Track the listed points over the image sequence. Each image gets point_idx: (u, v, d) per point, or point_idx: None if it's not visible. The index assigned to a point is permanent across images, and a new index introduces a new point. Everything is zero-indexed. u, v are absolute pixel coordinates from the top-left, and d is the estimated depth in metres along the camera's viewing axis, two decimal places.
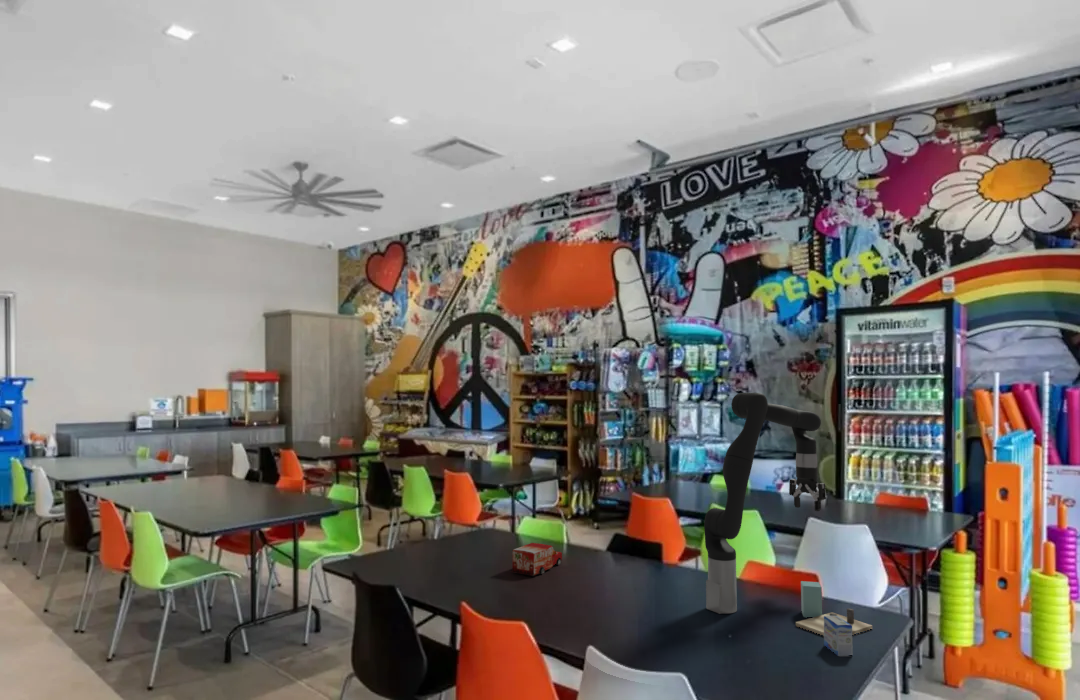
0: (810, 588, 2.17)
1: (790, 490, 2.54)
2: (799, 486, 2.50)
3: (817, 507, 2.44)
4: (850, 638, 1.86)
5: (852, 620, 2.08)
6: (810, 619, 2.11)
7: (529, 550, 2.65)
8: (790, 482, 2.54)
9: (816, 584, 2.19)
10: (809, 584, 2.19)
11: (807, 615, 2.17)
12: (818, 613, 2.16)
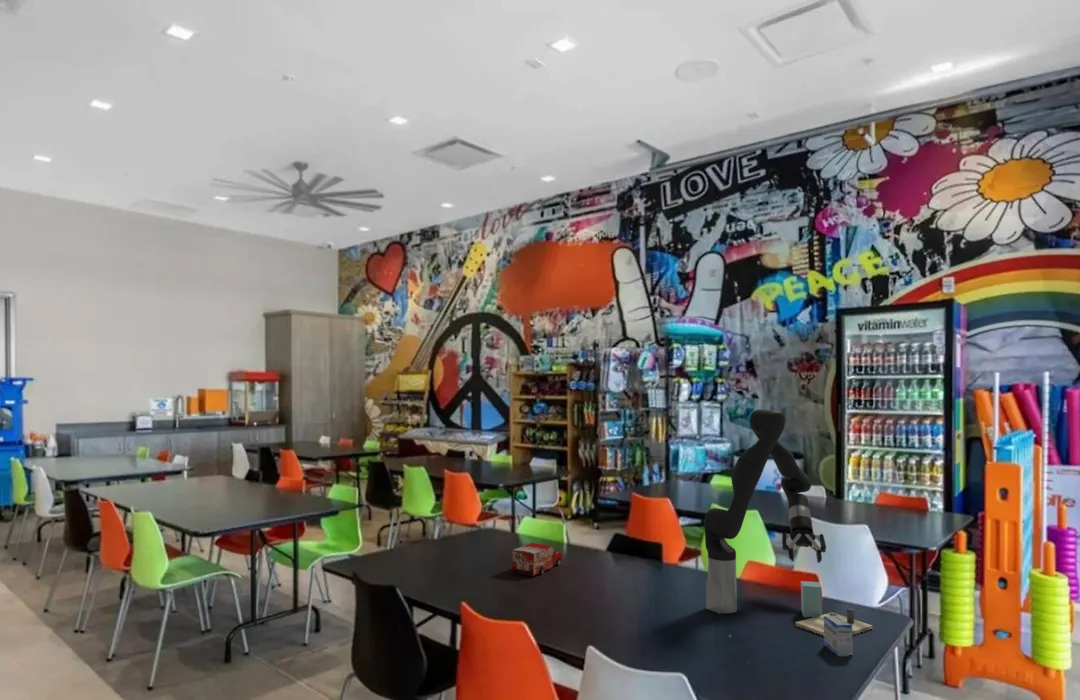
0: (810, 588, 2.17)
1: (784, 542, 2.36)
2: (797, 536, 2.36)
3: (820, 556, 2.30)
4: (850, 638, 1.86)
5: (852, 620, 2.08)
6: (810, 619, 2.11)
7: (529, 550, 2.65)
8: (784, 534, 2.38)
9: (816, 584, 2.19)
10: (809, 584, 2.19)
11: (807, 615, 2.17)
12: (818, 613, 2.16)
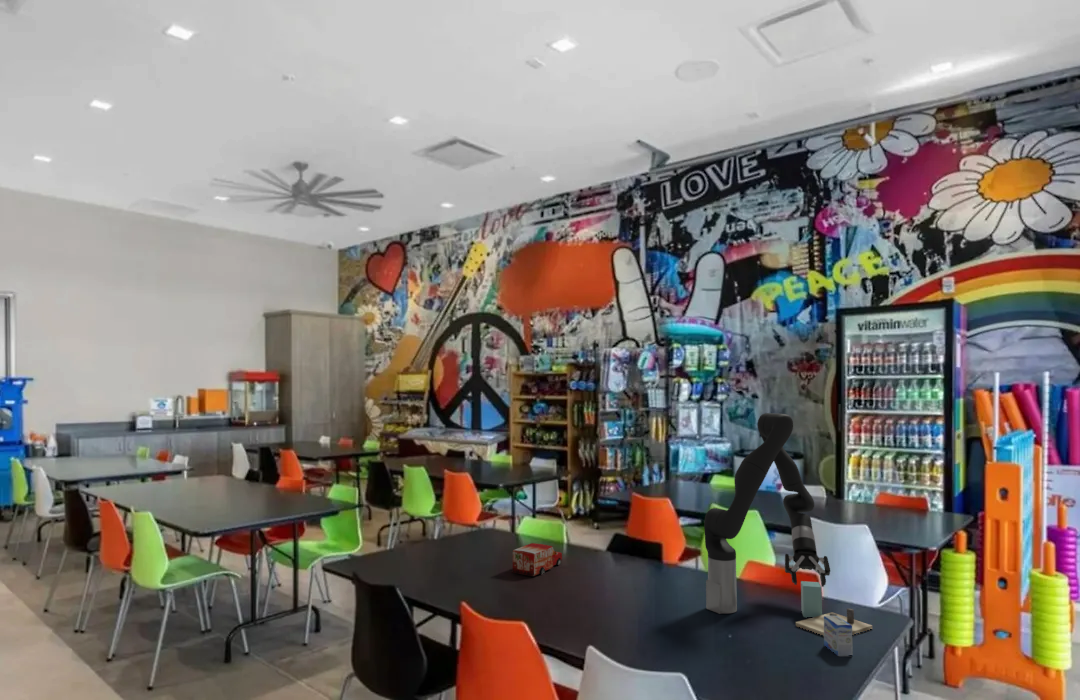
0: (810, 588, 2.17)
1: (787, 564, 2.28)
2: (801, 559, 2.28)
3: (824, 580, 2.22)
4: (850, 638, 1.86)
5: (852, 620, 2.08)
6: (810, 619, 2.11)
7: (529, 550, 2.65)
8: (786, 556, 2.30)
9: (816, 584, 2.19)
10: (809, 584, 2.19)
11: (807, 615, 2.17)
12: (818, 613, 2.16)
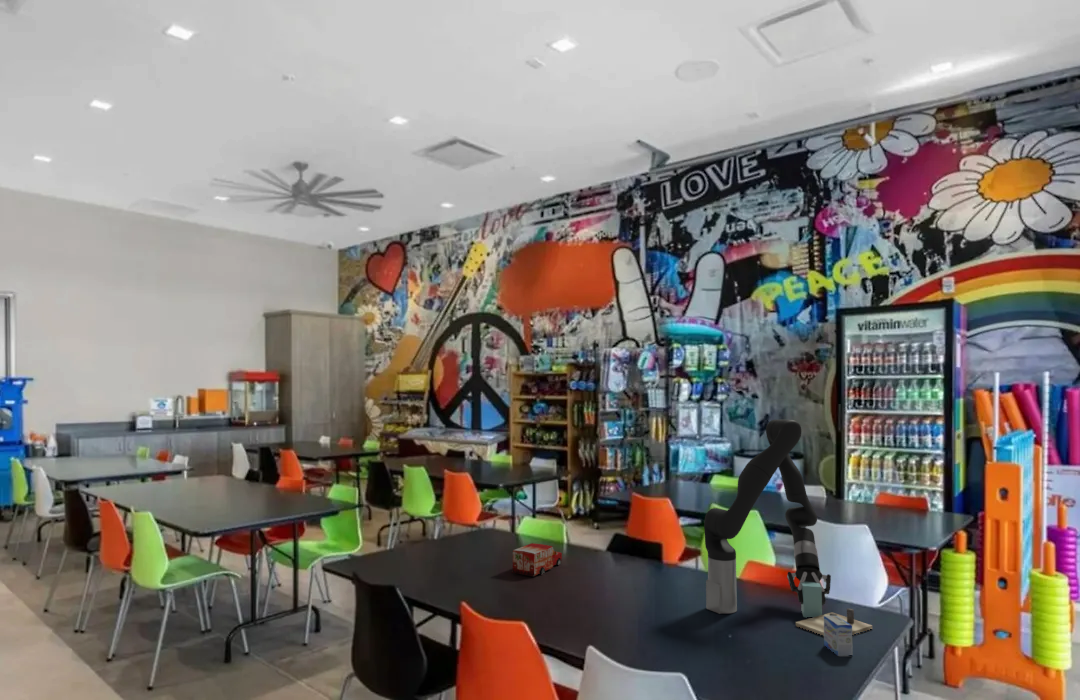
0: (810, 588, 2.17)
1: (792, 583, 2.22)
2: (804, 575, 2.23)
3: (824, 599, 2.17)
4: (850, 638, 1.86)
5: (852, 620, 2.08)
6: (810, 619, 2.11)
7: (529, 550, 2.65)
8: (789, 574, 2.24)
9: (816, 584, 2.19)
10: (809, 584, 2.19)
11: (807, 615, 2.17)
12: (818, 613, 2.16)
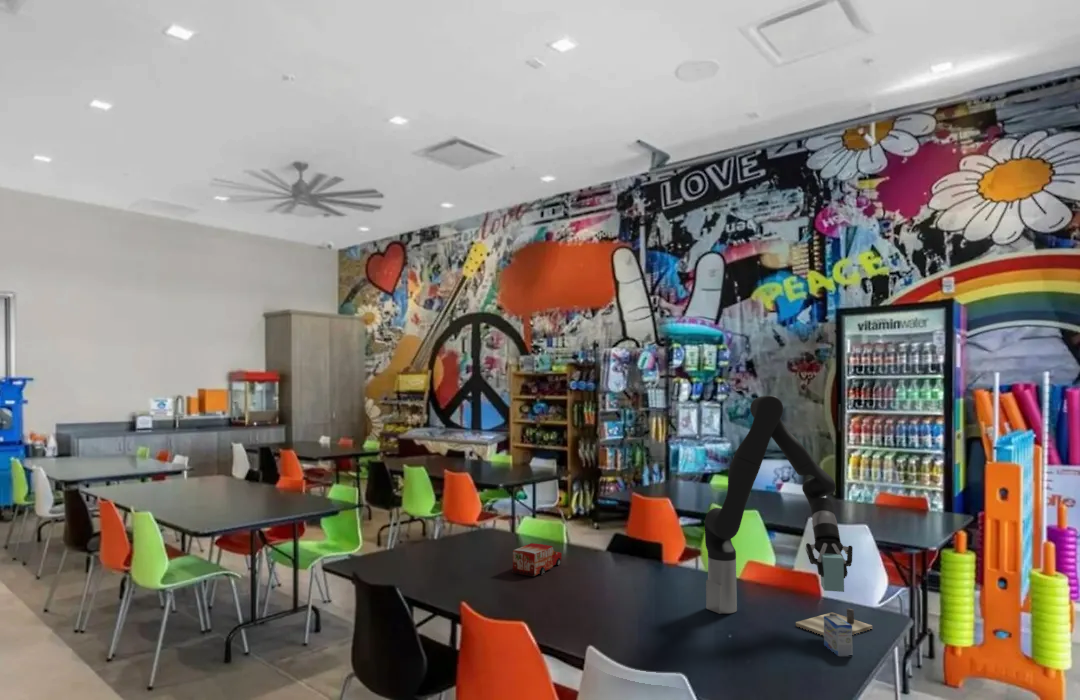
0: (831, 559, 2.03)
1: (811, 555, 2.08)
2: (824, 546, 2.09)
3: (846, 571, 2.03)
4: (850, 638, 1.86)
5: (852, 620, 2.08)
6: (810, 619, 2.11)
7: (529, 550, 2.64)
8: (808, 546, 2.11)
9: (837, 555, 2.05)
10: (830, 555, 2.05)
11: (827, 589, 2.03)
12: (840, 586, 2.02)
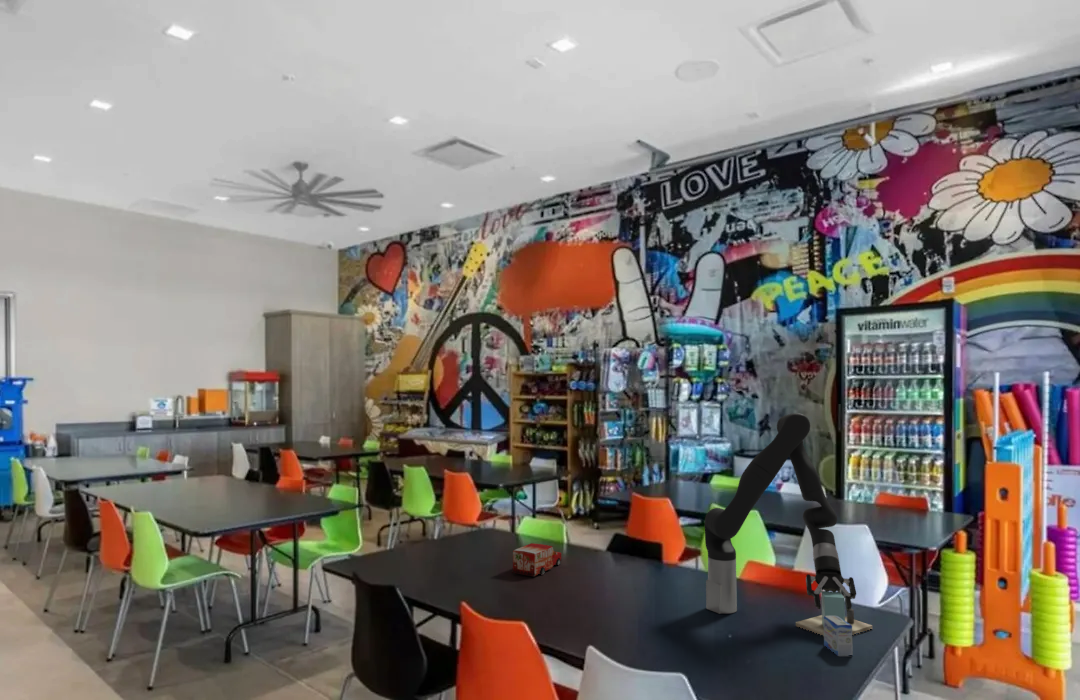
0: (832, 598, 2.02)
1: (809, 586, 2.08)
2: (824, 580, 2.08)
3: (850, 604, 2.02)
4: (850, 638, 1.86)
5: (852, 620, 2.08)
6: (810, 619, 2.11)
7: (530, 551, 2.64)
8: (808, 577, 2.10)
9: (838, 594, 2.04)
10: (831, 594, 2.04)
11: None
12: None
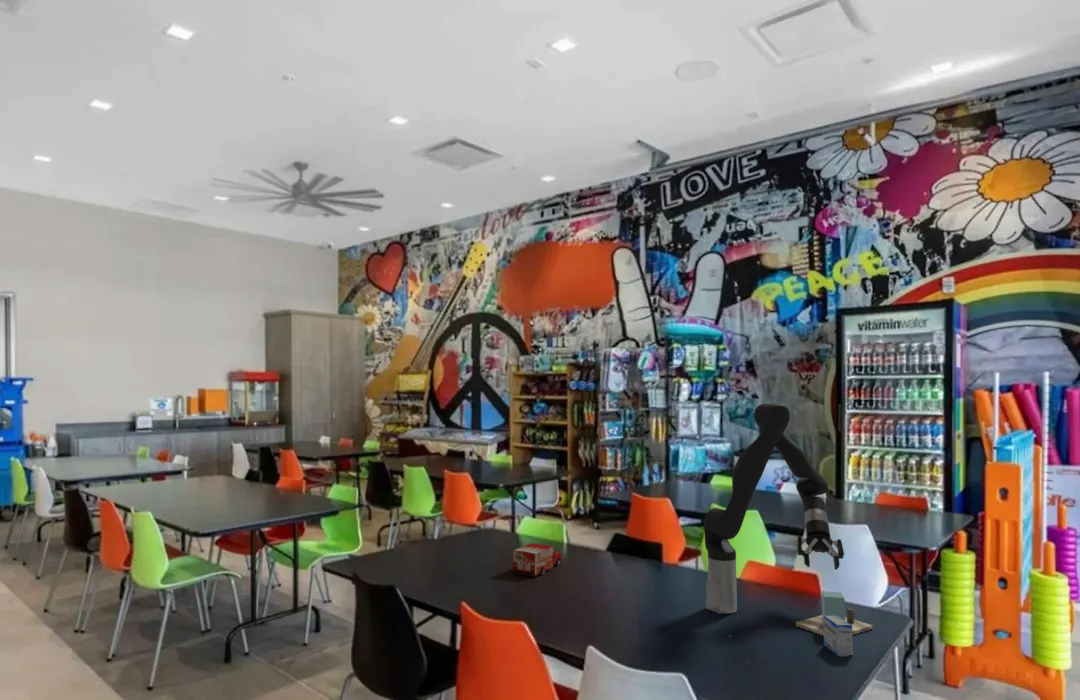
0: (832, 598, 2.02)
1: (799, 546, 2.24)
2: (814, 541, 2.24)
3: (838, 563, 2.18)
4: (850, 638, 1.86)
5: (852, 620, 2.08)
6: (810, 619, 2.11)
7: (530, 551, 2.64)
8: (799, 539, 2.26)
9: (838, 594, 2.04)
10: (831, 594, 2.04)
11: None
12: None
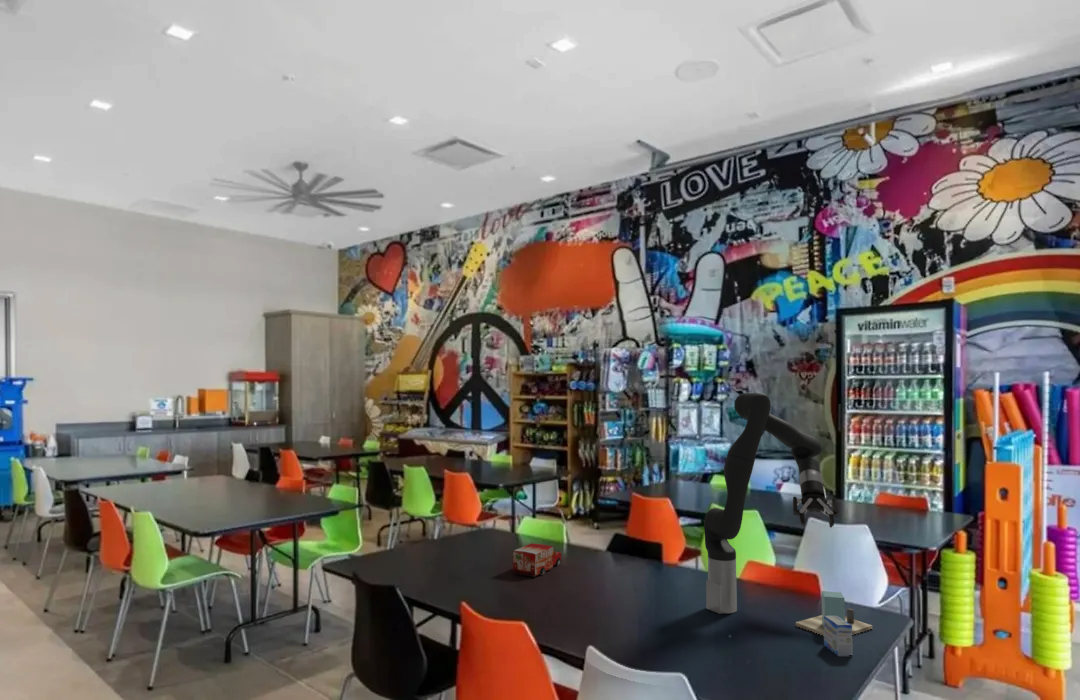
0: (832, 598, 2.02)
1: (795, 506, 2.28)
2: (809, 501, 2.28)
3: (833, 521, 2.22)
4: (850, 638, 1.86)
5: (852, 620, 2.08)
6: (810, 619, 2.11)
7: (530, 551, 2.64)
8: (794, 499, 2.30)
9: (838, 594, 2.04)
10: (831, 594, 2.04)
11: None
12: None
